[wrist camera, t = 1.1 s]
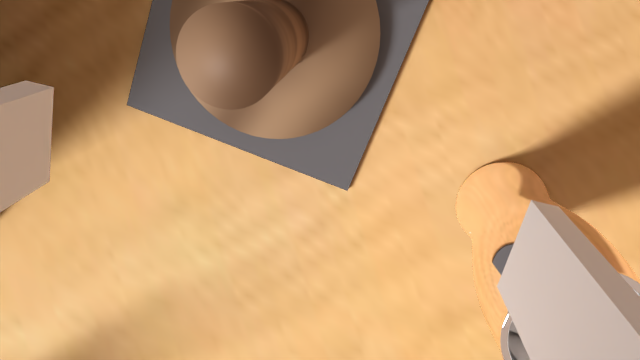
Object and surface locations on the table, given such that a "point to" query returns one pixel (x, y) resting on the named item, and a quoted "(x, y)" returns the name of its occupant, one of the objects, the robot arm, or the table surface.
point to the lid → (276, 60)
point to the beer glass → (511, 239)
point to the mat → (295, 153)
